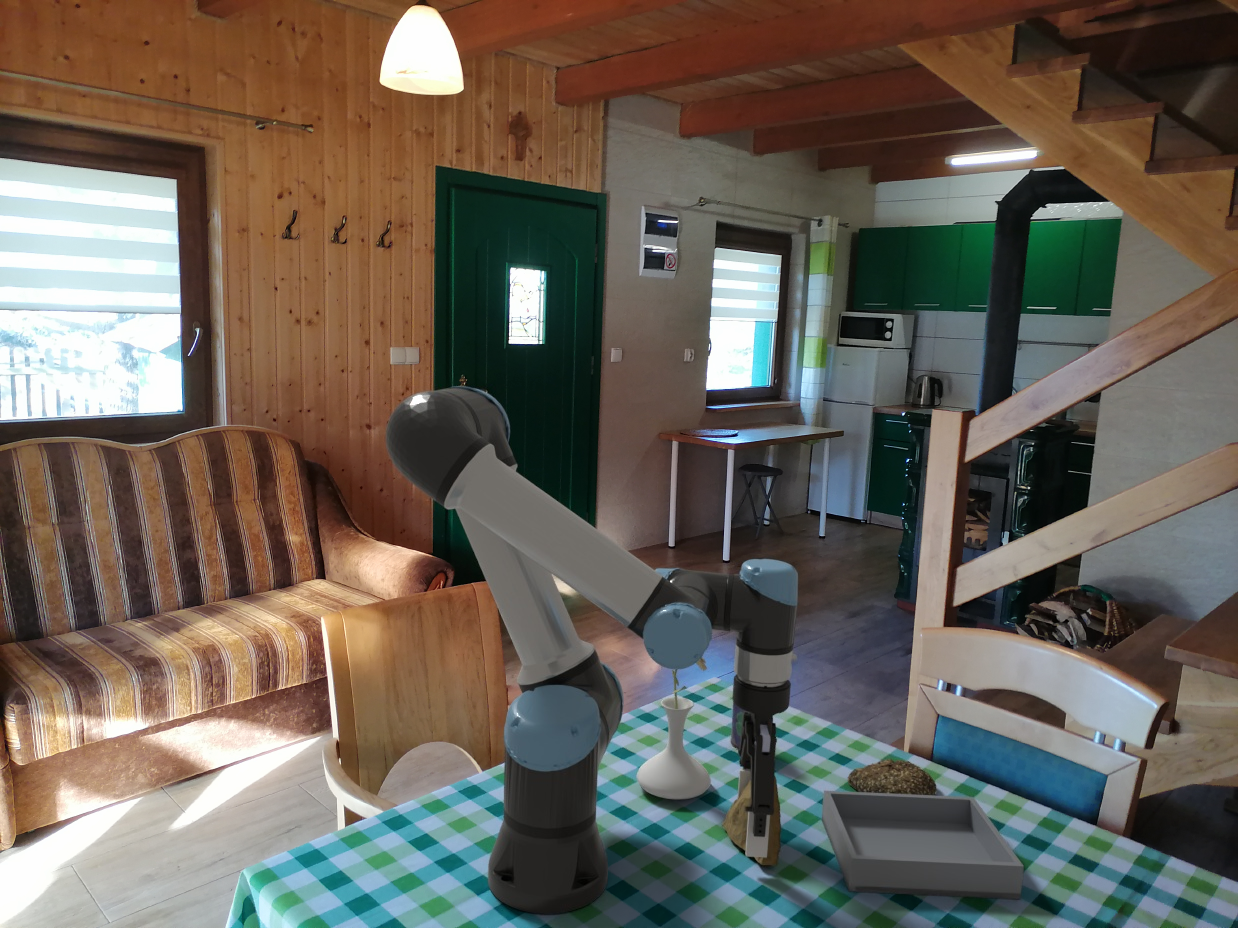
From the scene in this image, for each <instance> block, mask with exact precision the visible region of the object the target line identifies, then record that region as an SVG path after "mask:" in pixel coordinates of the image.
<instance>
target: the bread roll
mask: <svg viewBox="0 0 1238 928" xmlns="http://www.w3.org/2000/svg"><path fill="white" fill-rule="evenodd" d="M847 783H848V785H849V786H850V787H852V788H853V789H854V790H855V791H856V792H867V793H889V794H911V795H933V796H936V793H937V783H936V781H935V780H934V779H933V777H932V775H930V773H929V772H928V771H926V770H924V769H923V768H921V767H920V766H917V765H916V764H914V763H911V761H909V760H901V759H898V760H896V761H895V760H894V759H892V758H889V759H888V758H887V759H882V760H880V761H878V762H877V763H871V764H867V765H866V766H863V767H860V768H859V767H856V768H854V769H853V770H852V771H851V772H849V774H848V777H847Z"/></svg>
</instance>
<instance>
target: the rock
mask: <svg viewBox="0 0 1238 928" xmlns="http://www.w3.org/2000/svg"><path fill="white" fill-rule="evenodd" d="M777 783H778V782H777V777H776V774H775V775H774V814H773V815H770V823H769V836H768V849H767V858H765V857H754V859H755V860H756V861H757V863H759V864H760V865H762V866H776V865H778V861H779V858H780V856H779V855H780V853H781V838H782V837H781V833H782V822H781V815H782V814H781V802H780V799H779V791H778V788H779V787H778V784H777ZM750 805H751V780H750V781H749V782H748V784H747V785H746V787H745V788H744V789H743V791H742V792H741V795H740V796H739V797H738V796H737V798H736V799H735V800H734V801H733V803H732V804H731V806H730V807H729V809H728V811H727V812H726V815H725V819H724V820H723V822H722V824H721V827H723V828H724V830H725V831H726V832H727V833H726V834H727V836H728V839H730V840H731V841H732V842H733V843H734V844H735V845H737V846H738V847H739V848H741V849H742V850H744V851H745V852H746V838H747V824H748V812H746V811H745V807H746V806H748V807H750Z"/></svg>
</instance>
